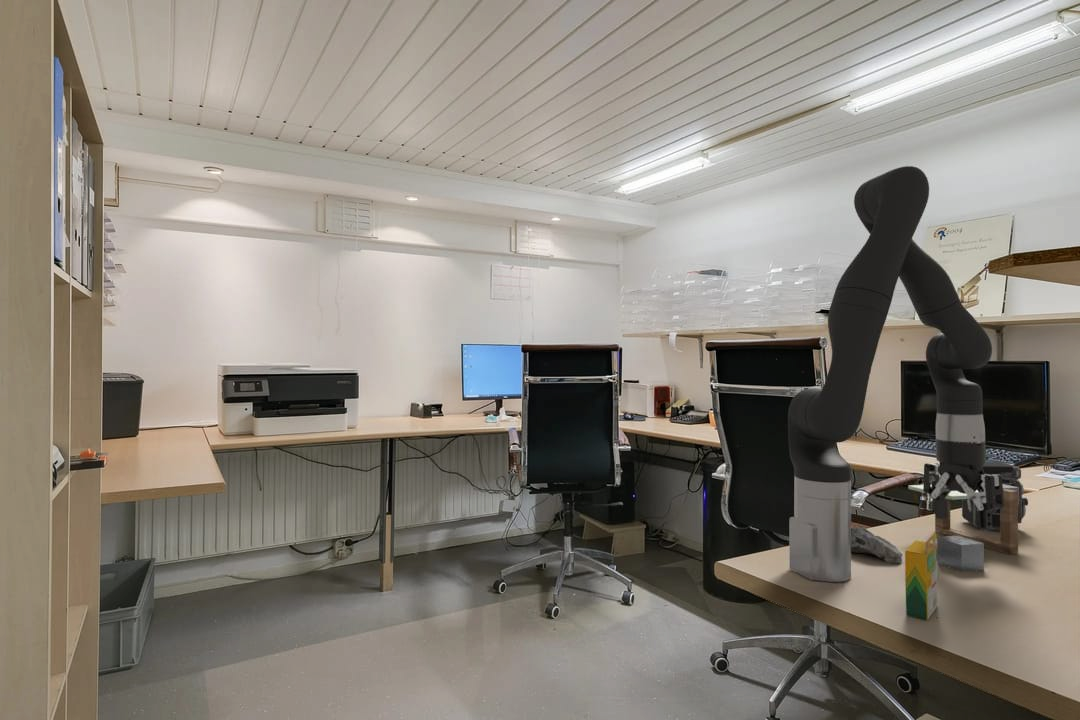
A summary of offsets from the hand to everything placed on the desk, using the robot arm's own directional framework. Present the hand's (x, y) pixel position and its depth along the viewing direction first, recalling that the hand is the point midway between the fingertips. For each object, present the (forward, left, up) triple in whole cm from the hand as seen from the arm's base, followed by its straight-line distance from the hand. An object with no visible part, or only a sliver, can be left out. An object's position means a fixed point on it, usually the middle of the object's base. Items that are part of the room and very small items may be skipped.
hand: (961, 524), depth 108 cm
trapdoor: (+14, +12, +1) cm, 18 cm away
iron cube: (0, 0, -8) cm, 8 cm away
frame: (+17, +12, -8) cm, 22 cm away
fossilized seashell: (-12, +10, -8) cm, 17 cm away
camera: (+32, +20, -8) cm, 38 cm away
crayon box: (-24, -15, -8) cm, 30 cm away
